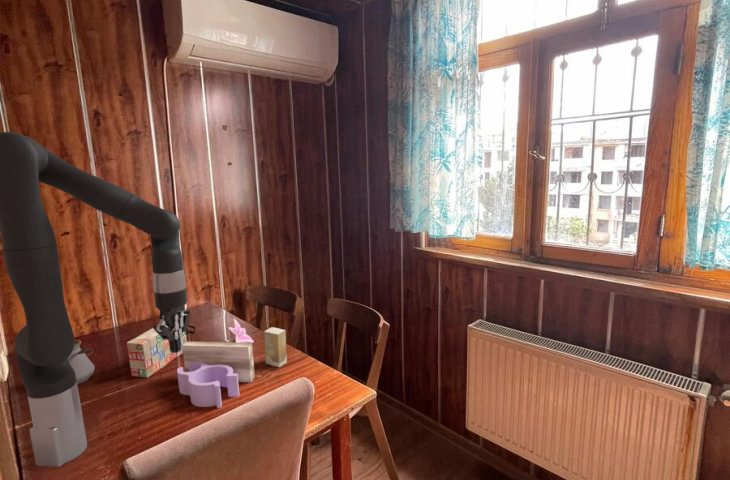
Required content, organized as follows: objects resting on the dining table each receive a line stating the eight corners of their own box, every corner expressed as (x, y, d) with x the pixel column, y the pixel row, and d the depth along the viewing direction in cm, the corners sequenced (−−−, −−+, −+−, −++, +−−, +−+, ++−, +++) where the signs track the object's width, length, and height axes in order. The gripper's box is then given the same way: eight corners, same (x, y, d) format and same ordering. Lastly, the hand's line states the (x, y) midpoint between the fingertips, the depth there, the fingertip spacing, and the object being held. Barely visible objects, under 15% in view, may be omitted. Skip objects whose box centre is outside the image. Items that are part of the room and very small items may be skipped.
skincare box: (265, 364, 139) (262, 331, 137) (273, 358, 143) (271, 326, 141) (279, 367, 136) (277, 334, 134) (288, 362, 140) (285, 329, 138)
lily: (232, 359, 146) (244, 336, 145) (211, 341, 151) (223, 319, 150) (253, 355, 157) (264, 333, 156) (233, 338, 162) (244, 318, 161)
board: (251, 382, 127) (248, 347, 125) (186, 380, 130) (182, 345, 128) (254, 377, 130) (252, 342, 128) (191, 375, 133) (187, 341, 131)
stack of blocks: (173, 348, 154) (170, 318, 152) (188, 349, 153) (184, 319, 151) (131, 376, 134) (126, 342, 131) (147, 378, 132) (142, 343, 130)
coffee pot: (47, 383, 130) (40, 340, 128) (87, 368, 140) (81, 328, 137) (74, 403, 118) (66, 356, 116) (116, 386, 128) (109, 341, 125)
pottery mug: (166, 336, 167) (173, 317, 169) (189, 341, 171) (196, 322, 174) (170, 338, 157) (178, 317, 159) (195, 343, 162) (202, 323, 164)
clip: (168, 394, 122) (166, 373, 121) (203, 376, 133) (201, 356, 131) (212, 413, 112) (210, 390, 111) (246, 391, 123) (244, 370, 121)
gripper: (167, 295, 96) (174, 363, 99) (197, 281, 109) (202, 341, 111) (139, 295, 97) (146, 362, 99) (171, 281, 110) (177, 340, 112)
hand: (175, 351), depth 105 cm, fingers closed
